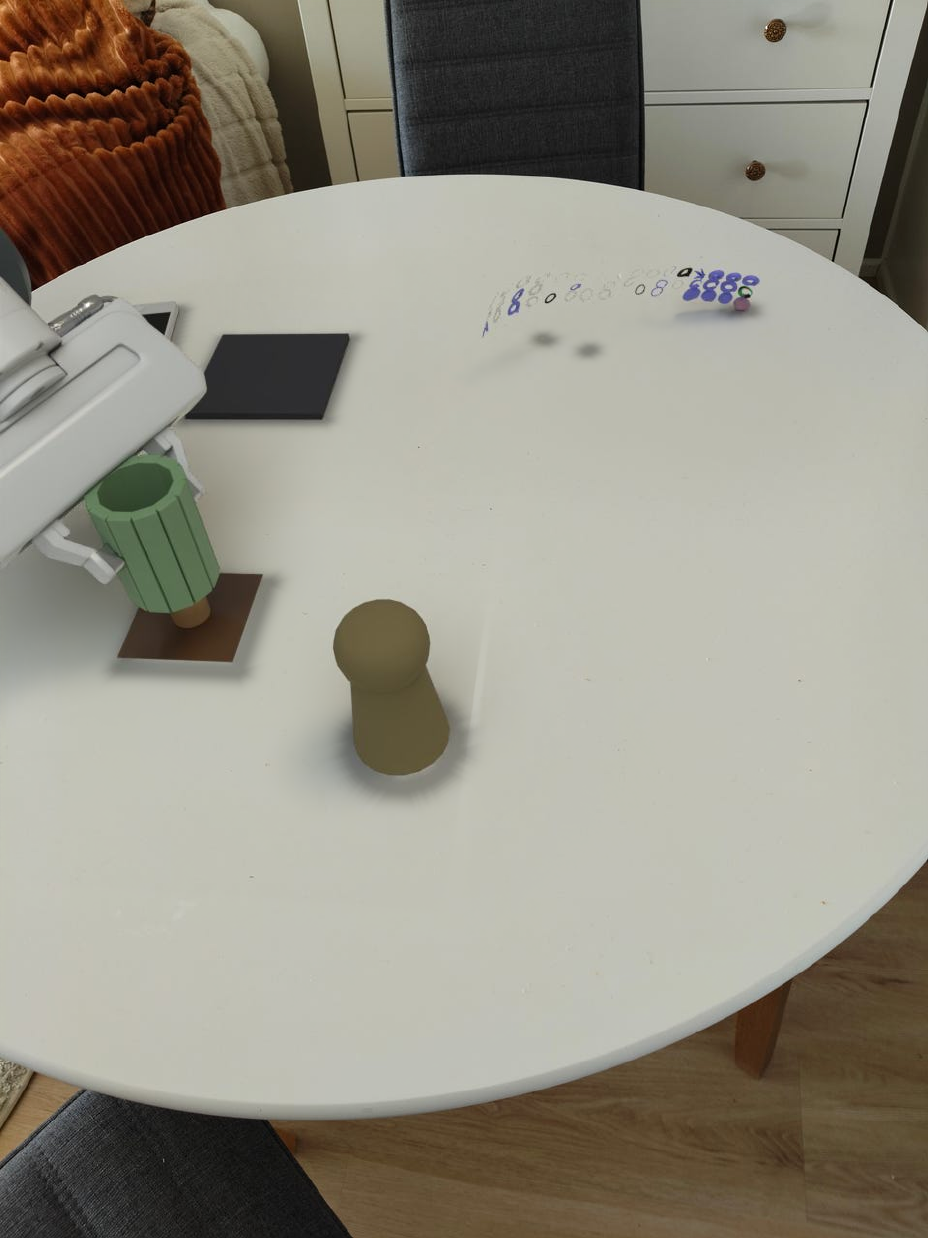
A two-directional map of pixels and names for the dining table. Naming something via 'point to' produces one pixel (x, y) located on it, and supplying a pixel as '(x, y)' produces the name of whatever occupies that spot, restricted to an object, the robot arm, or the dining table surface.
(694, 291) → the ring set
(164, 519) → the green tube
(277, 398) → the mat
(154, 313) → the smartphone
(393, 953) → the dining table surface
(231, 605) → the peg stand
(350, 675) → the olive brown pawn
